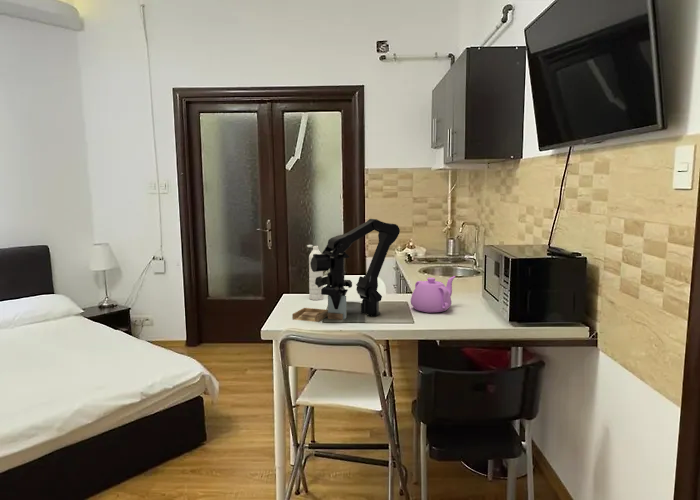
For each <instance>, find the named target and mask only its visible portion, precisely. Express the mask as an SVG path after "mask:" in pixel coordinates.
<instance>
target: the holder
mask: <svg viewBox="0 0 700 500" xmlns="http://www.w3.org/2000/svg"><path fill="white" fill-rule="evenodd" d="M347 316H348V314H347V310H346V318H347ZM327 320H336V321H337V320H338V321H343V320H344V319H343V314H339V313H328V316H327Z"/></svg>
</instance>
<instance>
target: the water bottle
mask: <svg viewBox="0 0 700 500" xmlns="http://www.w3.org/2000/svg"><path fill="white" fill-rule="evenodd" d="M306 247H307V248H313V249H312V250H311V251H310V254H309V256H308V264H309V265H308V269H309V270H308V271H309V274H308V276H309V278H308V281H309V282H308V288H309V292H308V293H309V295H308V296H309V297H308V298H309V300H312V301H319V300H320V301H322V300H323V299H324V295H322V294H321V289H322V288H323V287H324V285H323V286H321V287H319V288H318V286H317V285H316V284H315V280H316V278H317V277H320V276H321V277H322V278H323V277H324V271H319V272H313V271H312V269H311V264H310V262H311V259H312V258H313V254H322V252H321V251H320V249H319V245H313V244H306Z"/></svg>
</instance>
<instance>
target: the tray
mask: <svg viewBox="0 0 700 500" xmlns="http://www.w3.org/2000/svg"><path fill="white" fill-rule="evenodd" d="M304 312H318V313H319V315H317V316H316V320H305V319H299V316H301V314H303V313H304ZM326 318H328V309H326V308H325V309H324V308H311V307H303V308H301V309H300V310H297V311H295V312H294V313H292V320H294V321H303V322H312V323H313V322H314V323H319V322H321V321H323V320H324V319H326Z"/></svg>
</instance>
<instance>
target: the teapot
mask: <svg viewBox="0 0 700 500" xmlns="http://www.w3.org/2000/svg"><path fill="white" fill-rule="evenodd" d="M455 278H456V276H455V275H453V276H451V277H449V278H448V279H447V282H446V285H445V283H443V282H441V281H437V280H436V277H426V279H427V280H417V281H416V282H415V285H414V290H413V291H412V294H411V296H410V305H411V306H412V307H413V308H414V309H415V310H416V311H420V312H425V313H428V314H432V313H441V312H445V311H447V310H448V309H449V308H450V307H451V306H452V299H451V297H452V294H453V280H454V279H455Z"/></svg>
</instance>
